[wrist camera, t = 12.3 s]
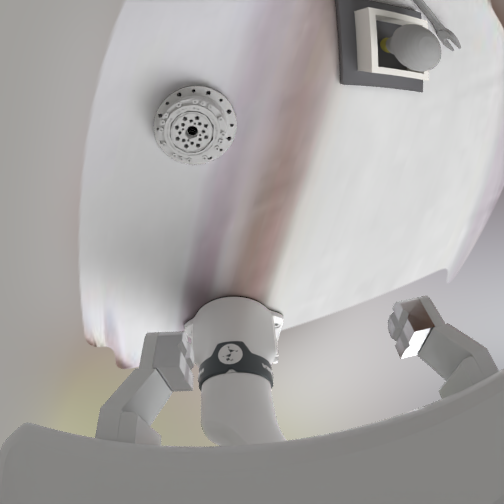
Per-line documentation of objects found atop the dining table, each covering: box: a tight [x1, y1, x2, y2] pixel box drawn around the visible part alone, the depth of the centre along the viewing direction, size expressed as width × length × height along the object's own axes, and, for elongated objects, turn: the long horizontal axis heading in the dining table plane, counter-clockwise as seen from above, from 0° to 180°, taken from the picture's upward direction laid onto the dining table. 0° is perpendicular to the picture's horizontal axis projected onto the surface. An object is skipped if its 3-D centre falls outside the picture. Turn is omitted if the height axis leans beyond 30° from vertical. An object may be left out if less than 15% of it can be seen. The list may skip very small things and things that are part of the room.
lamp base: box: [335, 0, 429, 92], centre depth 25 cm, size 12×12×5 cm
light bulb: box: [380, 24, 441, 72], centre depth 22 cm, size 5×6×10 cm
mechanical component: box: [154, 86, 237, 165], centre depth 31 cm, size 10×4×10 cm
